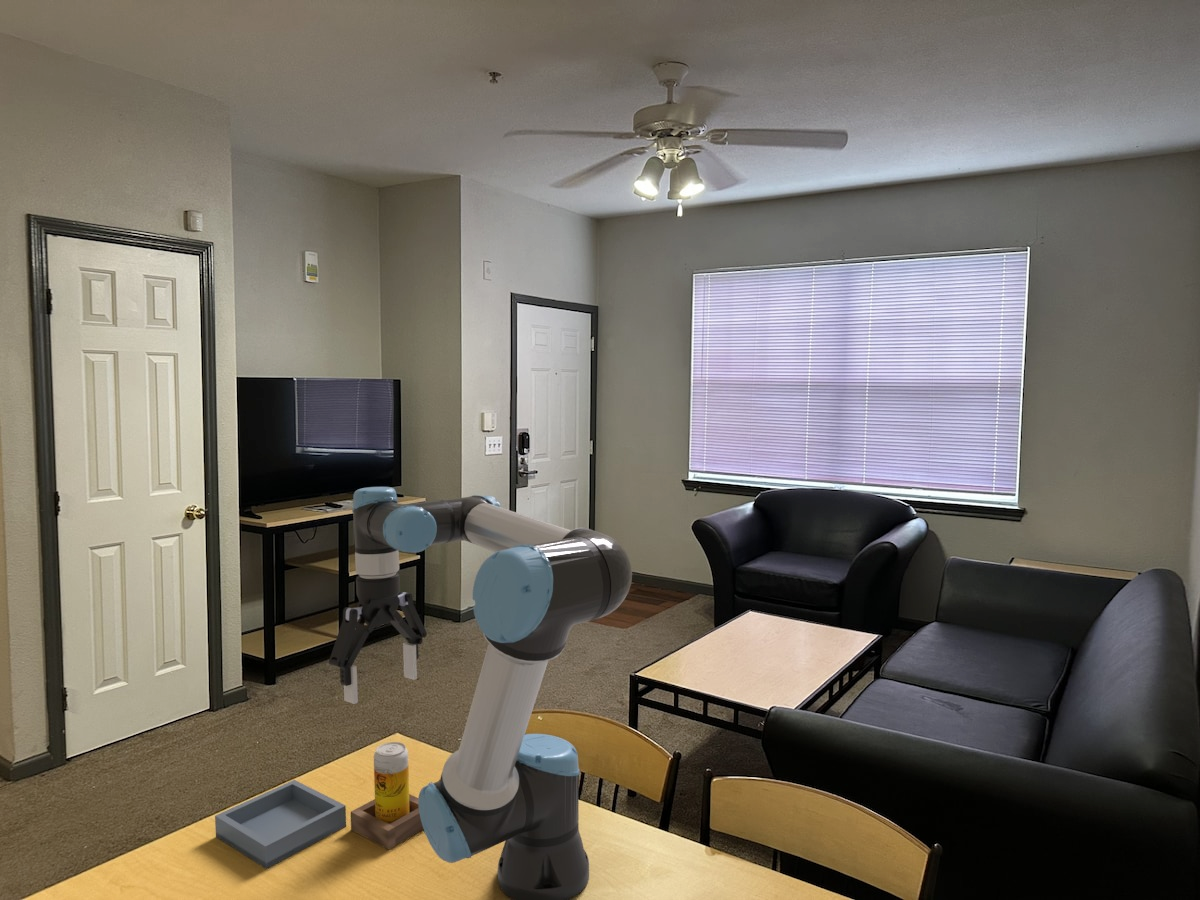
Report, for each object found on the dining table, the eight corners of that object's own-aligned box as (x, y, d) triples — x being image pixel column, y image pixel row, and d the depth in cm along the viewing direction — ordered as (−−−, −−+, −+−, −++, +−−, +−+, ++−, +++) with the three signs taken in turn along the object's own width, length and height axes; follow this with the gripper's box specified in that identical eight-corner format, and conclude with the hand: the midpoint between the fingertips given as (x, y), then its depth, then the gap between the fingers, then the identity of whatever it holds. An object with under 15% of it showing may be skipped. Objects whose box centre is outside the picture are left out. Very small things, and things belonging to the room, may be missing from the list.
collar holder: (433, 823, 151) (433, 805, 151) (388, 849, 143) (388, 830, 142) (396, 805, 157) (396, 788, 157) (351, 829, 149) (350, 811, 148)
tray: (346, 826, 150) (345, 805, 150) (266, 868, 137) (265, 846, 137) (295, 799, 159) (294, 779, 159) (215, 836, 147) (214, 815, 146)
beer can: (369, 832, 148) (366, 753, 146) (387, 815, 154) (385, 739, 152) (398, 838, 146) (396, 758, 145) (415, 820, 152) (414, 743, 151)
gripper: (415, 558, 158) (419, 665, 160) (304, 585, 137) (309, 708, 139) (443, 563, 154) (446, 672, 155) (332, 591, 133) (337, 717, 135)
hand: (382, 689), depth 147 cm, fingers open, 13 cm apart
